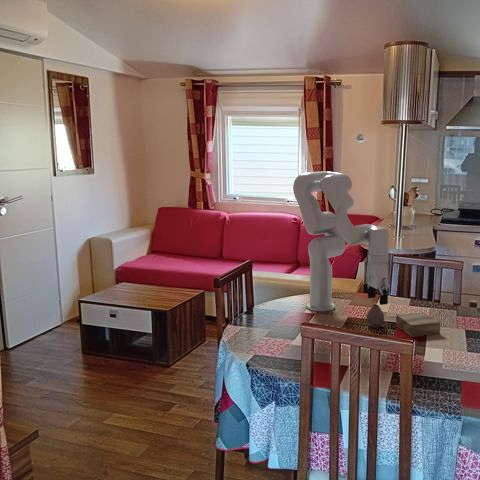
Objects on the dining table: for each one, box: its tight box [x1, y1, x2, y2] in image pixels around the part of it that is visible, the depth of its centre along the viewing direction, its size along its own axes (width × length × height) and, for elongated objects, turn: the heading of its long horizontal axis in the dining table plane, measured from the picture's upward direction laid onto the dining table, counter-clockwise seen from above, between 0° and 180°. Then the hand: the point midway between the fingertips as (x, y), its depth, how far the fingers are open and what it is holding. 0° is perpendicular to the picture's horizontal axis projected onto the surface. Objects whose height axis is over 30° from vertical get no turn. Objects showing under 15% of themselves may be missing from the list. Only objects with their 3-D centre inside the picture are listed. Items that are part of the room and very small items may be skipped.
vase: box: [365, 304, 385, 329], centre depth 216 cm, size 7×7×9 cm
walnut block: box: [395, 312, 441, 338], centre depth 212 cm, size 12×12×5 cm
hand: (377, 300), depth 214 cm, fingers open, 9 cm apart
